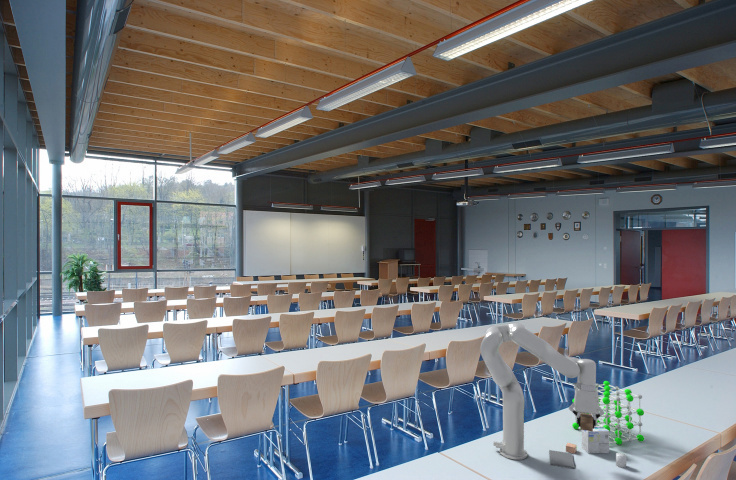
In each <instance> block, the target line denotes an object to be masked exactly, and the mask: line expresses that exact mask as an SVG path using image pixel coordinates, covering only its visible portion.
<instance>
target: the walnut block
mask: <svg viewBox="0 0 736 480" xmlns="http://www.w3.org/2000/svg"><path fill="white" fill-rule="evenodd" d="M579 430H581V431H582V430H586V431H593V415H592V414H586V413H581V414H580V429H579Z"/></svg>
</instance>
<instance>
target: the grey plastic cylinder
mask: <svg viewBox="0 0 736 480" xmlns="http://www.w3.org/2000/svg"><path fill="white" fill-rule="evenodd" d="M615 466H616V467H618V468H619V469H626V468H627V454H625V453H622V452H616V453H615Z"/></svg>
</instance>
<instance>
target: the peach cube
mask: <svg viewBox="0 0 736 480" xmlns="http://www.w3.org/2000/svg"><path fill="white" fill-rule="evenodd" d="M577 446H578V445H577V444H575V443H571V442H567V443H566V445H565V452H566V453H572V454H576V453H577V450H578V449H577Z"/></svg>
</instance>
